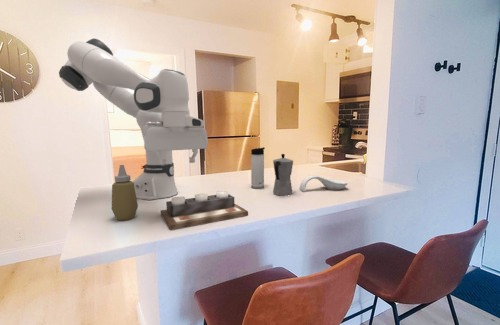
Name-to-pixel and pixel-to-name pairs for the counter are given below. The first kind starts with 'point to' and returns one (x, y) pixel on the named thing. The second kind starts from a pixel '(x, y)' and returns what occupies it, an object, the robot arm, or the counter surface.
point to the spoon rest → (324, 183)
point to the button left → (178, 200)
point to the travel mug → (257, 168)
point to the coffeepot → (282, 176)
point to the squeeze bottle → (123, 196)
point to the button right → (222, 194)
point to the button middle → (201, 197)
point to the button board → (201, 212)
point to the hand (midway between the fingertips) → (178, 163)
